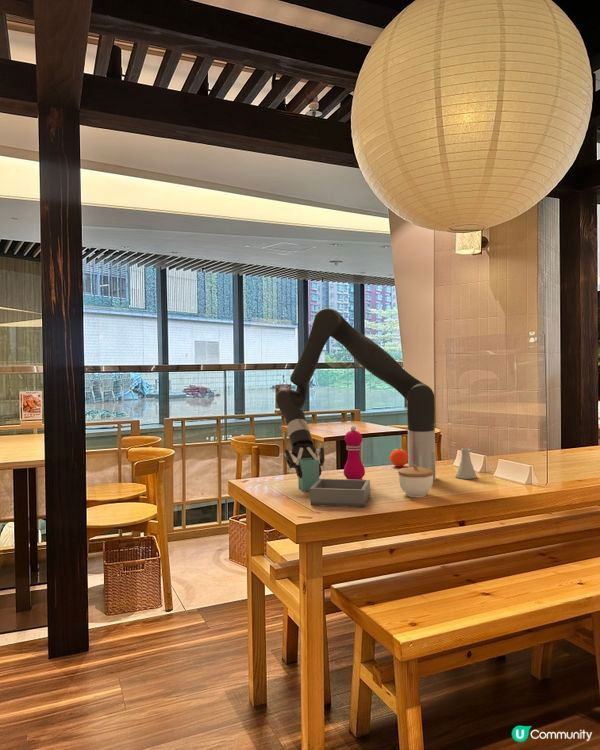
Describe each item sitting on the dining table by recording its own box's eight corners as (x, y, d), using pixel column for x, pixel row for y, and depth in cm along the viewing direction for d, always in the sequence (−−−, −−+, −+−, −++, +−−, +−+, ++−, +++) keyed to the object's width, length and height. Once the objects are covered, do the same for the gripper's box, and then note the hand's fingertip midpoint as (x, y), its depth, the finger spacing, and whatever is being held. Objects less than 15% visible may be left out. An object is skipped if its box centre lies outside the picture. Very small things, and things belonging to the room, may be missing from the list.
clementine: (385, 467, 231) (384, 449, 231) (390, 464, 237) (390, 446, 237) (405, 468, 227) (404, 450, 227) (410, 465, 233) (410, 447, 233)
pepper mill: (364, 487, 198) (362, 427, 197) (342, 487, 199) (341, 427, 198) (366, 482, 205) (364, 424, 204) (345, 482, 206) (343, 424, 205)
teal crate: (314, 486, 201) (313, 457, 201) (319, 490, 196) (318, 460, 195) (298, 488, 200) (297, 458, 199) (303, 491, 194) (302, 461, 194)
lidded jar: (399, 499, 182) (398, 468, 181) (398, 490, 192) (397, 462, 192) (435, 499, 180) (434, 468, 180) (432, 491, 191) (431, 462, 191)
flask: (480, 476, 210) (479, 448, 210) (471, 480, 205) (470, 451, 204) (461, 474, 215) (460, 446, 214) (451, 478, 209) (451, 449, 209)
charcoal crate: (370, 495, 187) (369, 479, 187) (364, 507, 173) (364, 490, 173) (320, 494, 191) (319, 478, 190) (310, 505, 177) (310, 488, 177)
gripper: (281, 429, 202) (290, 471, 191) (321, 427, 206) (333, 467, 195) (277, 443, 207) (287, 484, 196) (317, 440, 211) (328, 480, 200)
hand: (310, 475), depth 196 cm, fingers closed on teal crate, 5 cm apart
